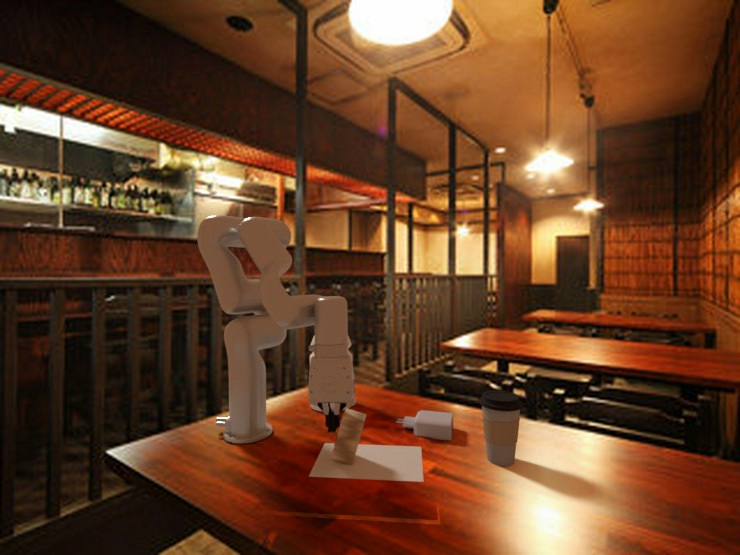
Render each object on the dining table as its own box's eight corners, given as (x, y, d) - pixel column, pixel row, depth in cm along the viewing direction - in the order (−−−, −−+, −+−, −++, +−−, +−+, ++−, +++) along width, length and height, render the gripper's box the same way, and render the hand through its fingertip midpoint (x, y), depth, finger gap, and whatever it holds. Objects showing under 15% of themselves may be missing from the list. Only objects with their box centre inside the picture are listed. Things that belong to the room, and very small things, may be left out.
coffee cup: (523, 455, 93) (523, 392, 93) (520, 474, 85) (520, 404, 84) (482, 447, 97) (482, 387, 97) (475, 465, 89) (475, 398, 88)
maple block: (330, 458, 88) (342, 415, 88) (334, 447, 93) (345, 407, 93) (352, 465, 88) (364, 422, 87) (355, 454, 93) (366, 414, 92)
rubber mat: (308, 479, 83) (308, 476, 83) (324, 445, 99) (324, 443, 99) (423, 484, 81) (423, 481, 81) (421, 449, 97) (421, 446, 97)
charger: (400, 423, 114) (453, 428, 110) (393, 436, 105) (450, 442, 101) (400, 406, 114) (453, 411, 109) (393, 418, 105) (450, 424, 101)
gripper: (294, 353, 87) (296, 436, 87) (361, 354, 86) (363, 438, 86) (304, 347, 95) (305, 423, 95) (365, 347, 93) (367, 424, 93)
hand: (332, 430), depth 90 cm, fingers closed
